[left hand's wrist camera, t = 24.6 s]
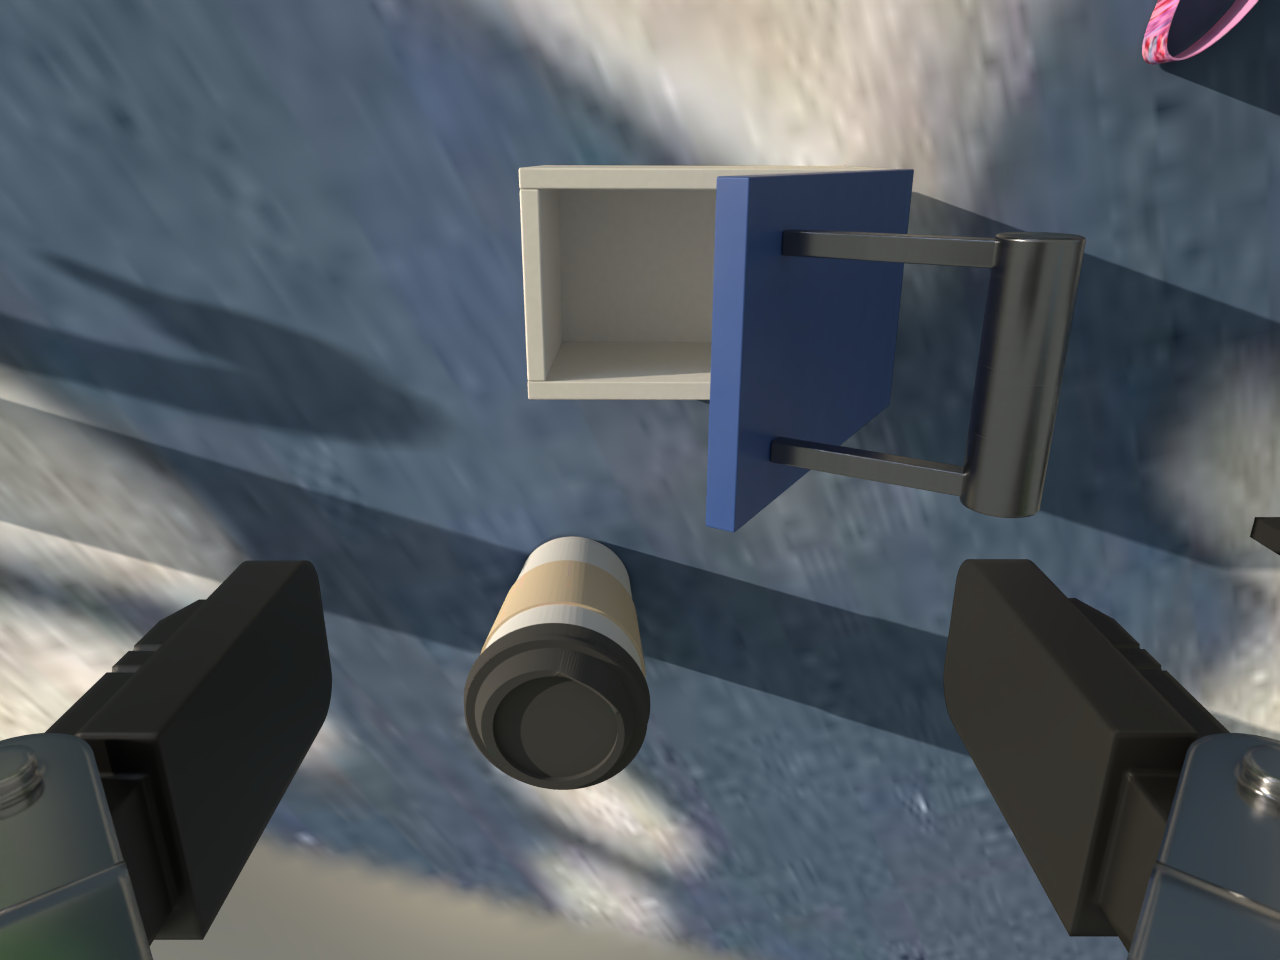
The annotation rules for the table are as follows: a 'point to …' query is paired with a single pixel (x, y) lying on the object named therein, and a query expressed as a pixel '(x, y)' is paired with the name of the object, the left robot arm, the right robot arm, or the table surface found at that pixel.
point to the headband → (1158, 34)
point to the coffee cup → (562, 671)
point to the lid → (869, 342)
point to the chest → (622, 278)
